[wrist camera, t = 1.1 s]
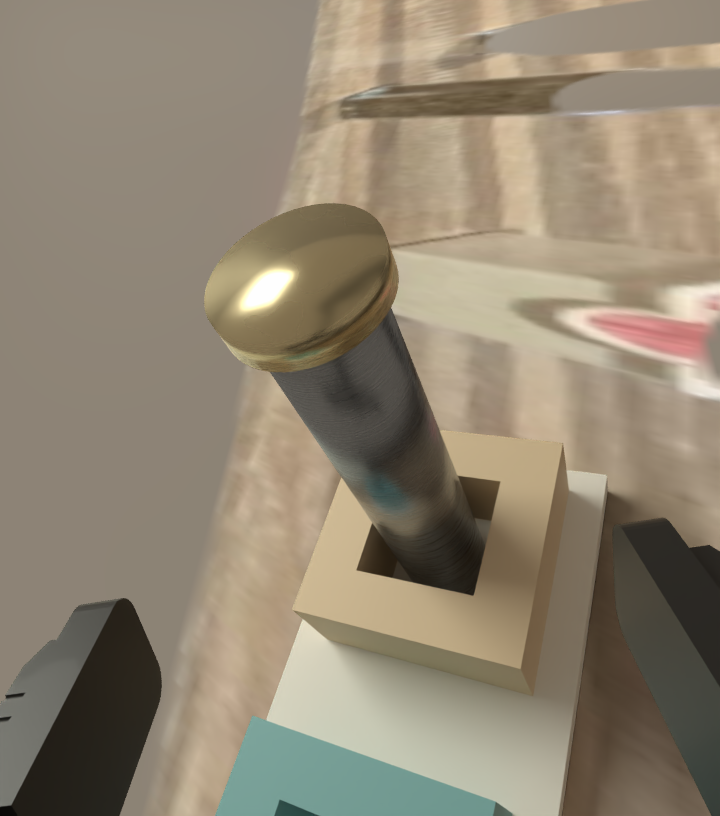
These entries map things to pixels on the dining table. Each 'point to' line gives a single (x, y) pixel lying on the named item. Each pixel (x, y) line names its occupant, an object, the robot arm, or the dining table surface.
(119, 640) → the robot arm
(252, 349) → the pin
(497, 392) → the dining table surface
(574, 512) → the dock
